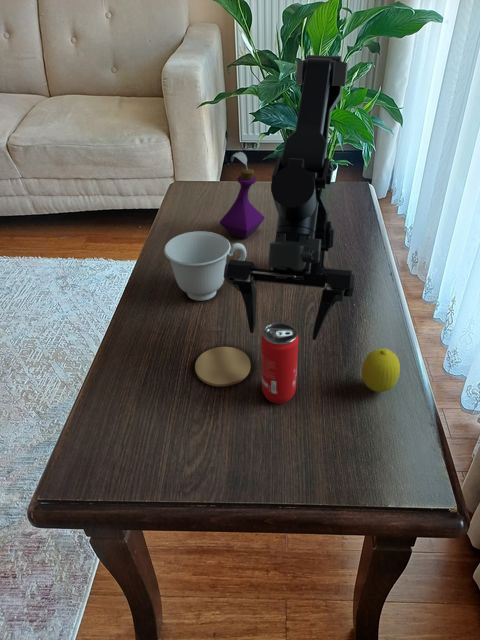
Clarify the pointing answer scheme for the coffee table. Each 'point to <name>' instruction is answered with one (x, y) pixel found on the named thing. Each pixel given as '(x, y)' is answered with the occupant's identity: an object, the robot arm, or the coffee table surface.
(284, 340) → the beverage can
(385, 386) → the lemon
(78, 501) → the coffee table surface
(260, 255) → the coffee table surface
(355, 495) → the coffee table surface
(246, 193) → the perfume bottle
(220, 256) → the teacup
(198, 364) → the trivet
